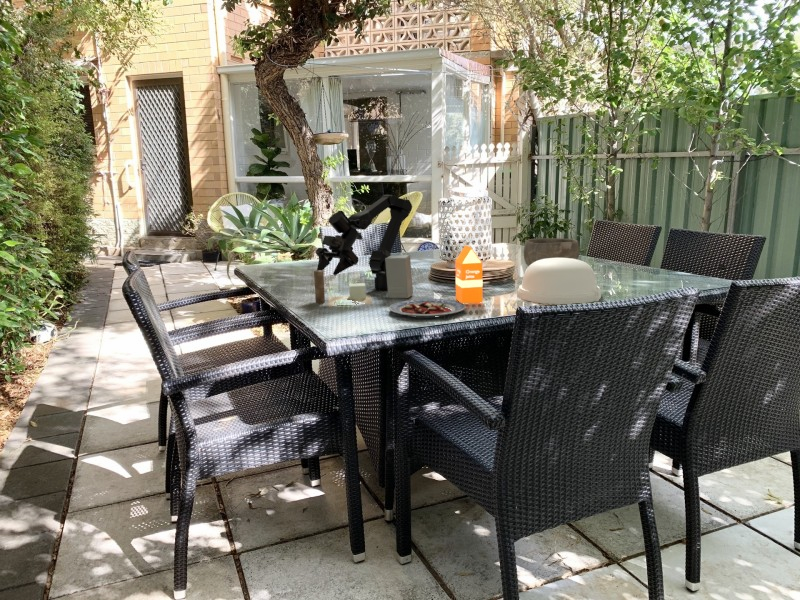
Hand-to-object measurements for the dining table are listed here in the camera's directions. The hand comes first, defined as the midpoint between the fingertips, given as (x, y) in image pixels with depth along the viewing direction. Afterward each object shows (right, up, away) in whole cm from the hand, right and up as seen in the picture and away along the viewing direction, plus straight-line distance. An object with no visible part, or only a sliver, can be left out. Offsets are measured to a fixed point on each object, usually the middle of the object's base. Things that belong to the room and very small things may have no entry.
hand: (325, 273), depth 231 cm
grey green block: (+12, -9, +7) cm, 16 cm away
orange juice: (+53, -10, -5) cm, 54 cm away
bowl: (+96, +2, +51) cm, 109 cm away
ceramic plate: (+37, -14, -20) cm, 44 cm away
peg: (-2, -11, 0) cm, 11 cm away
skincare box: (+28, -9, +7) cm, 30 cm away
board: (+9, -10, +2) cm, 14 cm away
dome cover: (+87, -9, +1) cm, 87 cm away
